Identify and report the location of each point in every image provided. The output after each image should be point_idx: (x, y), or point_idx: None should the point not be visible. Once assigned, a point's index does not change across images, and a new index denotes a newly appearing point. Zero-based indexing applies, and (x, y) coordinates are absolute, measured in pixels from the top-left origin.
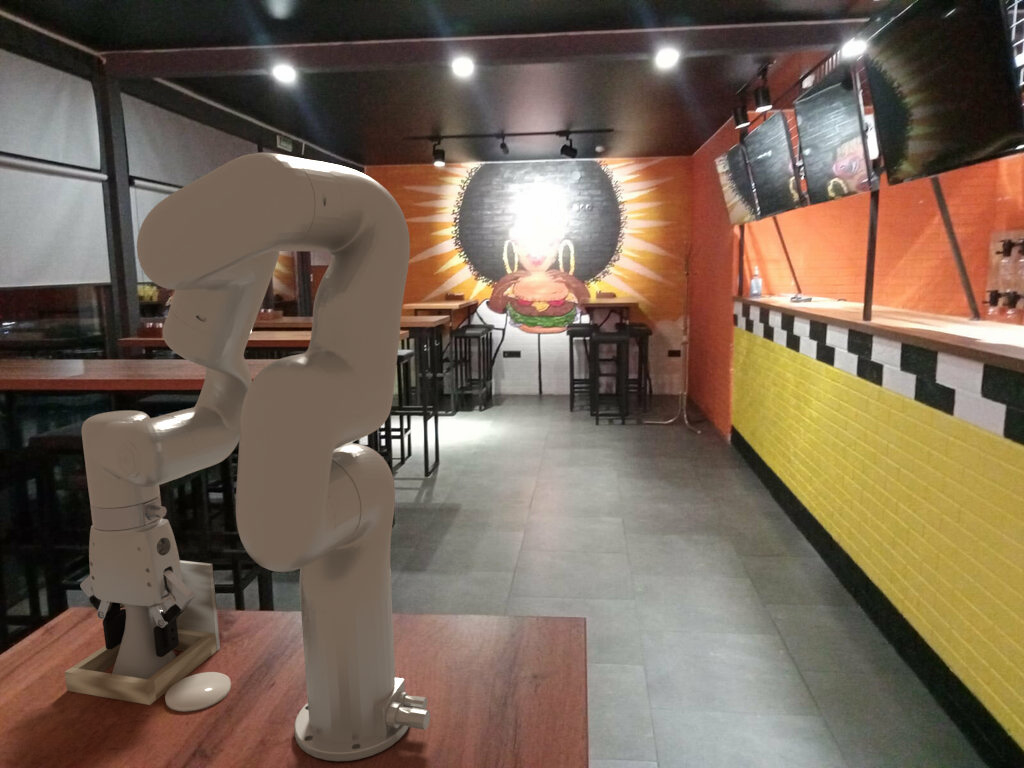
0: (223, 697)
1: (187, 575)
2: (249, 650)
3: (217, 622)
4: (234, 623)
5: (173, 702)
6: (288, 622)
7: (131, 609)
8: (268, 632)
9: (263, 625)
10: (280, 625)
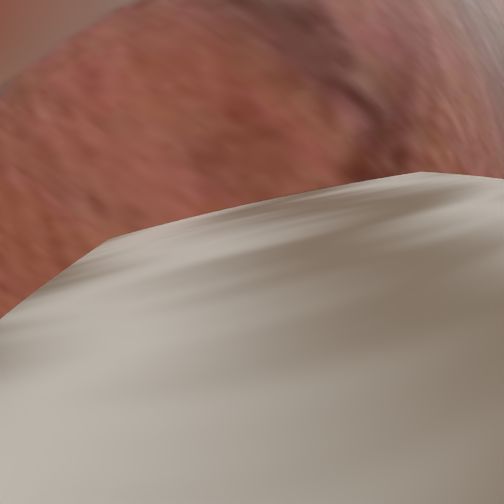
0: None
1: None
2: (482, 151)
3: (486, 177)
4: (333, 22)
5: None
6: (452, 3)
7: None
8: (457, 54)
9: (419, 20)
10: (451, 17)
